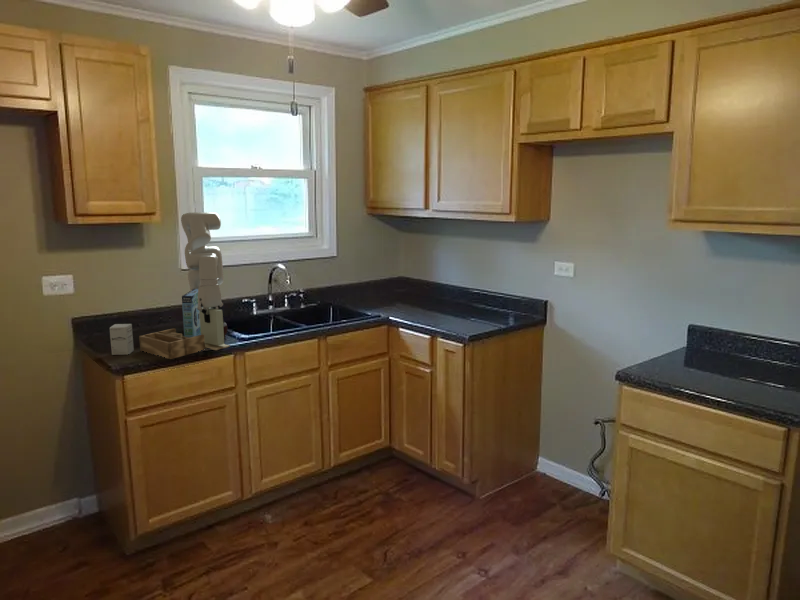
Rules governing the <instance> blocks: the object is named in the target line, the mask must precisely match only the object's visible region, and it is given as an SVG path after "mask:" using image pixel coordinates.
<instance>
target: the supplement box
mask: <svg viewBox="0 0 800 600" xmlns="http://www.w3.org/2000/svg"><path fill="white" fill-rule="evenodd" d="M133 335H134V334H133V324H132V323H115V324H113V325H111V326H110V327H109V339H110V348H111V355H112V356H113V355H118V356H119V355H120V356H121V355H122V356H124V355H126V356H127V355H128V354H129V355H130V354H131V353H132V352H134V338H133V337H134V336H133ZM129 355H128V356H129Z"/></svg>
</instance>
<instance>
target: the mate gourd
mask: <svg viewBox="0 0 800 600" xmlns="http://www.w3.org/2000/svg"><path fill="white" fill-rule="evenodd" d="M223 329H224V339H225V340H227V339H226V337H227V336H226V335H227V333H228V329H229V328H228V325H227V323H226V322H225V321H223Z"/></svg>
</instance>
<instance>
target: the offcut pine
mask: <svg viewBox="0 0 800 600" xmlns="http://www.w3.org/2000/svg"><path fill="white" fill-rule="evenodd" d="M166 335H170V336H174V337H178V338H182V339H183V337H182V336H183V333H178V332H176V333H169V334H166Z"/></svg>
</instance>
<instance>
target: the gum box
mask: <svg viewBox="0 0 800 600" xmlns="http://www.w3.org/2000/svg"><path fill="white" fill-rule="evenodd" d="M181 305H182V307H181V308H182V323H183V336H184V337H188V338H190V337H194V336H198V335H201V328H200V313H199V310H197V308H198V289H192V290H189V291H188V292H186V293H185V294H182V296H181ZM202 308H203V307H202Z"/></svg>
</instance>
